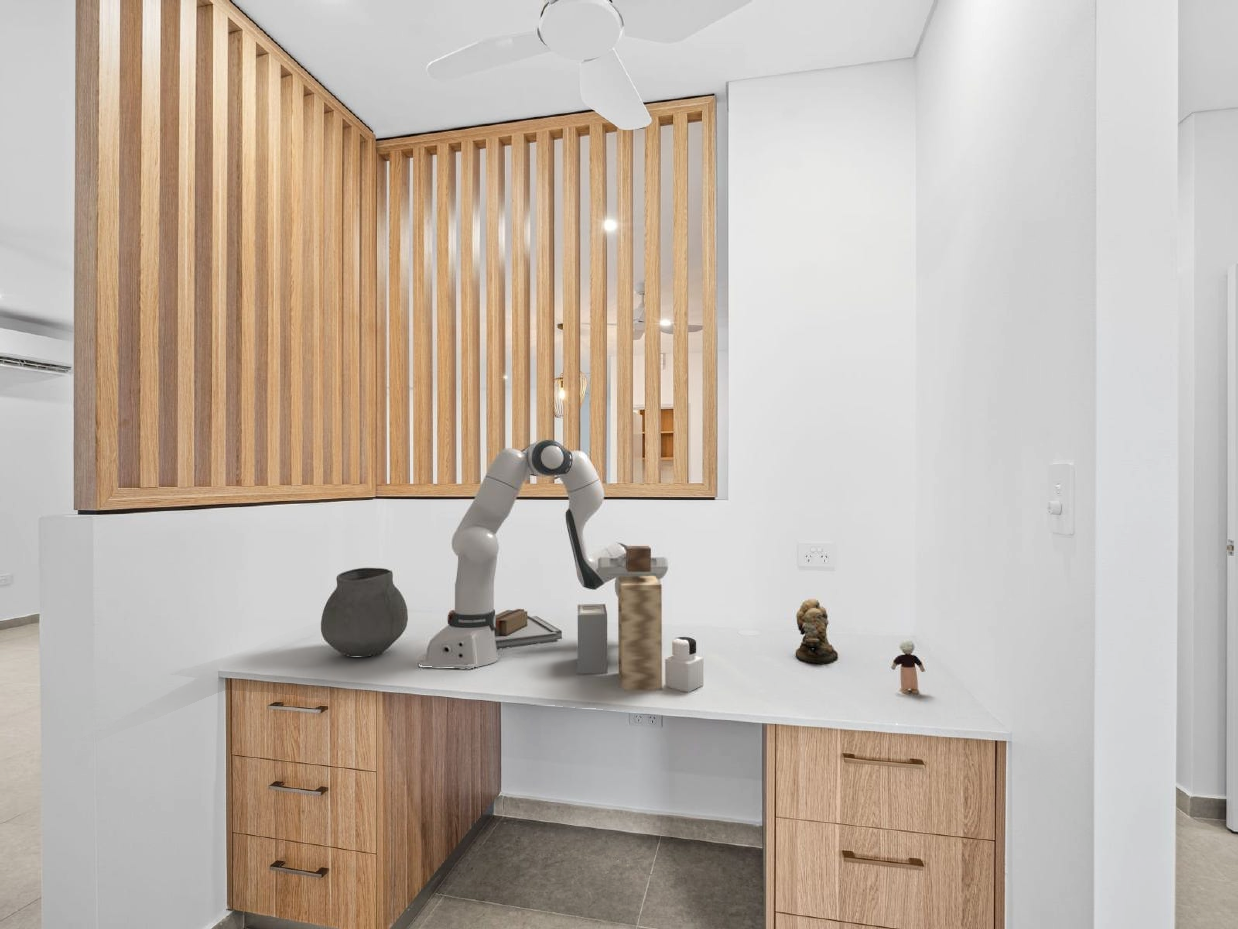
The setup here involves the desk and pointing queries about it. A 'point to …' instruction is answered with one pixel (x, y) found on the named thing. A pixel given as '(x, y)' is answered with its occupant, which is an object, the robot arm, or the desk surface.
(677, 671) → the medicine bottle
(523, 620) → the grey tray
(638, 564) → the brown wooden bar
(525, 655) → the desk surface
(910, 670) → the grandmother figurine
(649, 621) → the tall wooden pillar
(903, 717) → the desk surface
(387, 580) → the ceramic pot
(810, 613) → the brown lumpy piece
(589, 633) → the plinth
